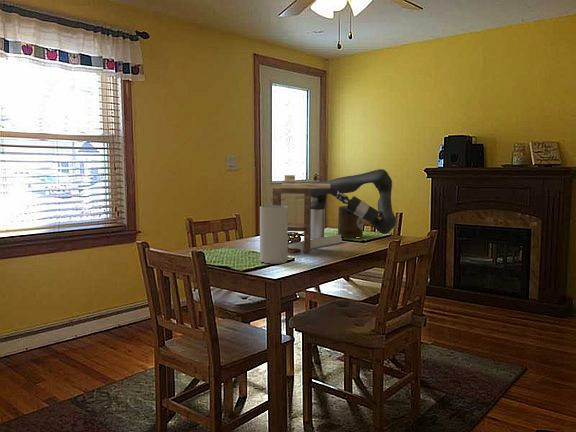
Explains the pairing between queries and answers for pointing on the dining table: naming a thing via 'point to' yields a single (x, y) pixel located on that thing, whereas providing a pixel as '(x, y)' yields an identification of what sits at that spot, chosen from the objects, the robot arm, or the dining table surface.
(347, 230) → the wooden container
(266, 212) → the cylinder vase
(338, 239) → the decorative molding
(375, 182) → the robot arm
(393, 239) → the dining table surface
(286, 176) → the offcut stack
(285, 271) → the dining table surface
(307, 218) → the walnut rack
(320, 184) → the birch slat
